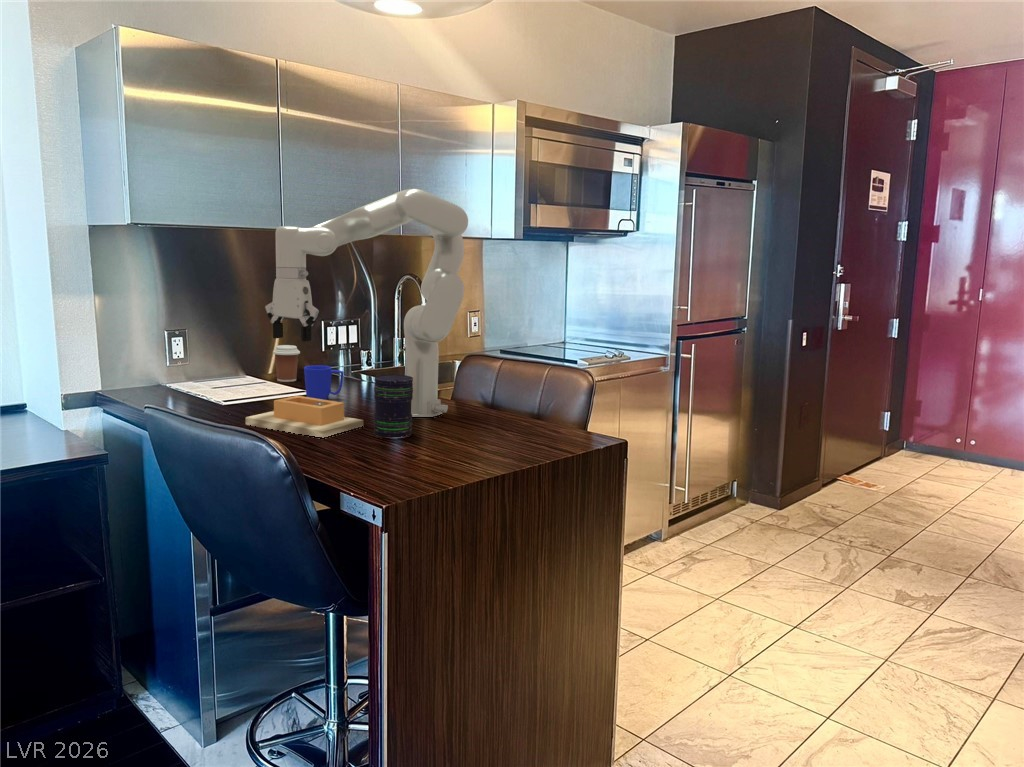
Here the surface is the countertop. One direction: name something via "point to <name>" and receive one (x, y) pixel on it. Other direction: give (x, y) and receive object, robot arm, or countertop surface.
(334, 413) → the orange rectangular frame
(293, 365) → the coffee cup
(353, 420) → the backing board
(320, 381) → the mug
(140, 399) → the countertop surface
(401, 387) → the storage jar
